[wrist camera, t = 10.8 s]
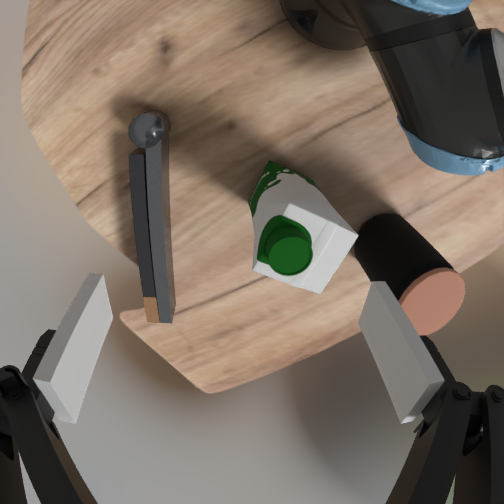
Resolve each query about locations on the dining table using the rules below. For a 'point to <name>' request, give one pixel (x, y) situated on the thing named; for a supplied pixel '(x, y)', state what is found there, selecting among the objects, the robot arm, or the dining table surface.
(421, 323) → the coffee jar
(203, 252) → the dining table surface
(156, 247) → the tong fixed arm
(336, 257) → the milk carton
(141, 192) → the arm
